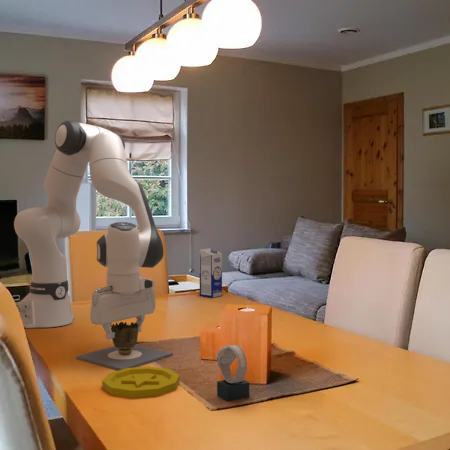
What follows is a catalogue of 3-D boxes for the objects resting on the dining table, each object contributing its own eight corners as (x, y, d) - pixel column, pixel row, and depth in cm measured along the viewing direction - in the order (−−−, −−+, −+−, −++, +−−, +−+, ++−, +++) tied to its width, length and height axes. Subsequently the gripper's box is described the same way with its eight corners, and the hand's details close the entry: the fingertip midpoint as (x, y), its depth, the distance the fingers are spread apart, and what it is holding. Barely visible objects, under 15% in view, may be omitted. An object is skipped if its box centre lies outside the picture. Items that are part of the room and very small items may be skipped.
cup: (143, 351, 162) (142, 322, 161) (133, 358, 155) (132, 328, 154) (117, 349, 164) (117, 320, 163) (106, 356, 156) (106, 326, 156)
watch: (233, 388, 134) (233, 340, 133) (253, 399, 127) (254, 348, 126) (212, 393, 131) (212, 343, 130) (231, 404, 124) (231, 352, 123)
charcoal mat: (76, 358, 157) (76, 356, 157) (127, 344, 171) (127, 342, 171) (122, 371, 146) (122, 368, 146) (172, 355, 160) (172, 352, 160)
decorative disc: (87, 388, 135) (87, 379, 135) (145, 370, 148) (145, 362, 148) (136, 405, 124) (136, 396, 124) (194, 384, 138) (194, 376, 137)
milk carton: (209, 294, 254) (209, 247, 253) (222, 295, 250) (222, 248, 249) (199, 296, 248) (199, 249, 247) (212, 298, 244) (212, 249, 243)
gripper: (100, 290, 148) (101, 345, 148) (159, 280, 164) (159, 330, 164) (84, 287, 151) (85, 341, 152) (143, 278, 167) (143, 326, 168)
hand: (124, 335), depth 158 cm, fingers open, 8 cm apart
